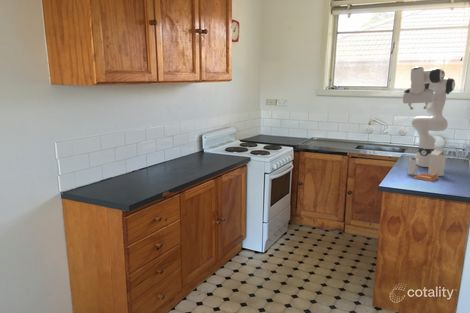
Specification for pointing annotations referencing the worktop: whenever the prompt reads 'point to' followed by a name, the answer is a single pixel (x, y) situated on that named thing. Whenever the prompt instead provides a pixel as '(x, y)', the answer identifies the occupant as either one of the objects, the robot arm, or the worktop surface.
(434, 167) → the milk carton
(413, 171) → the lock
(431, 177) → the coupler
